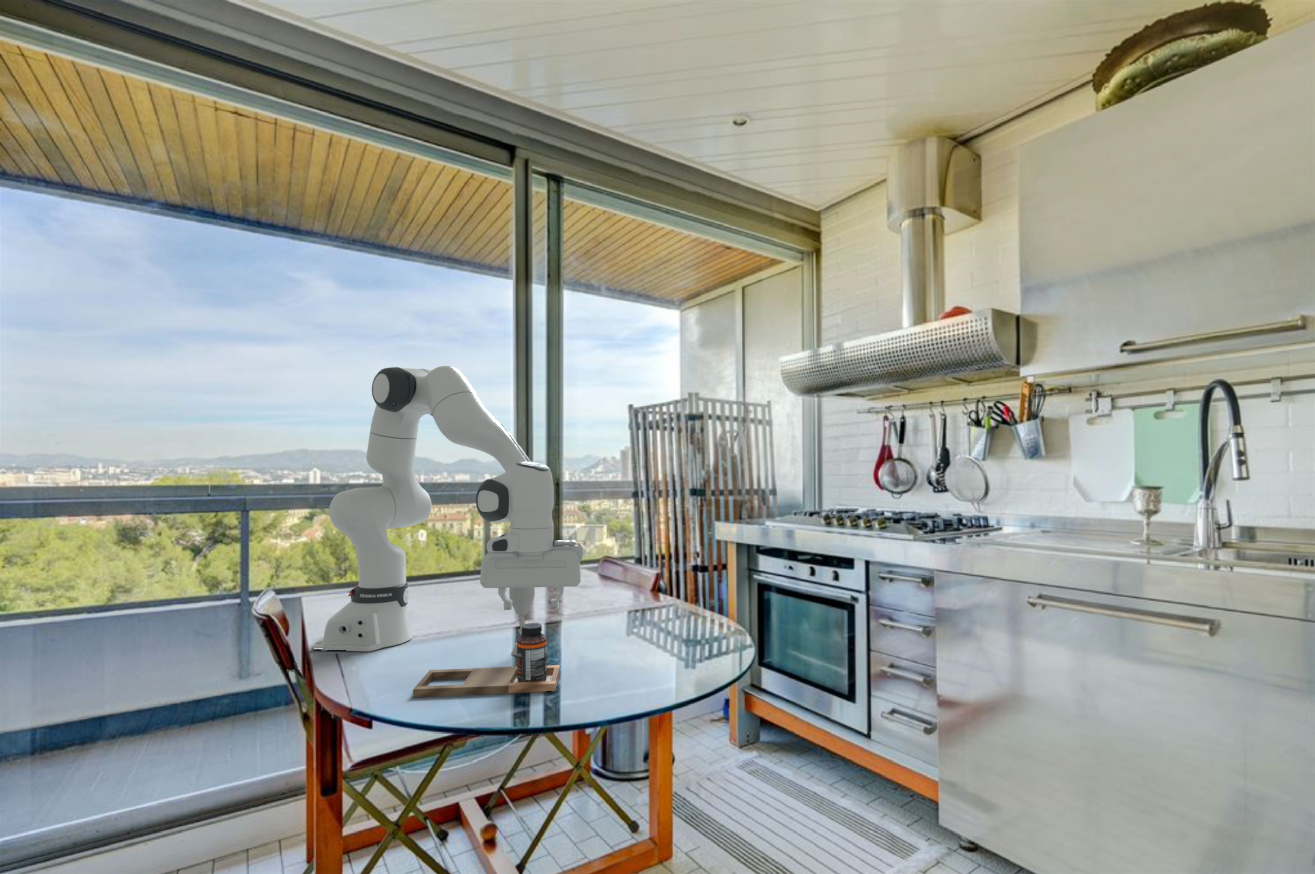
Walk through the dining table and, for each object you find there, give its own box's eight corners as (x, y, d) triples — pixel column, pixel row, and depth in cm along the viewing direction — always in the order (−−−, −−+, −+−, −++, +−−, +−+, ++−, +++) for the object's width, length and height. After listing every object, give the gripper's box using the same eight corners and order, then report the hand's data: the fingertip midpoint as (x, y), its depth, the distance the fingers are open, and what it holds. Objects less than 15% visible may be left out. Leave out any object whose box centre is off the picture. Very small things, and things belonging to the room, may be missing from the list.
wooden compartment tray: (412, 697, 118) (412, 689, 118) (429, 677, 129) (429, 670, 129) (555, 691, 120) (555, 683, 120) (559, 672, 131) (559, 665, 131)
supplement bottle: (514, 678, 126) (514, 623, 127) (543, 674, 129) (542, 619, 129) (520, 688, 121) (519, 630, 121) (550, 683, 123) (549, 626, 124)
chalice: (529, 657, 141) (529, 578, 141) (501, 656, 142) (501, 577, 143) (541, 648, 148) (541, 572, 148) (515, 647, 149) (515, 572, 150)
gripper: (583, 538, 130) (583, 604, 130) (485, 539, 128) (484, 605, 128) (582, 542, 124) (581, 611, 123) (478, 543, 122) (477, 613, 122)
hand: (531, 608), depth 126 cm, fingers open, 8 cm apart
